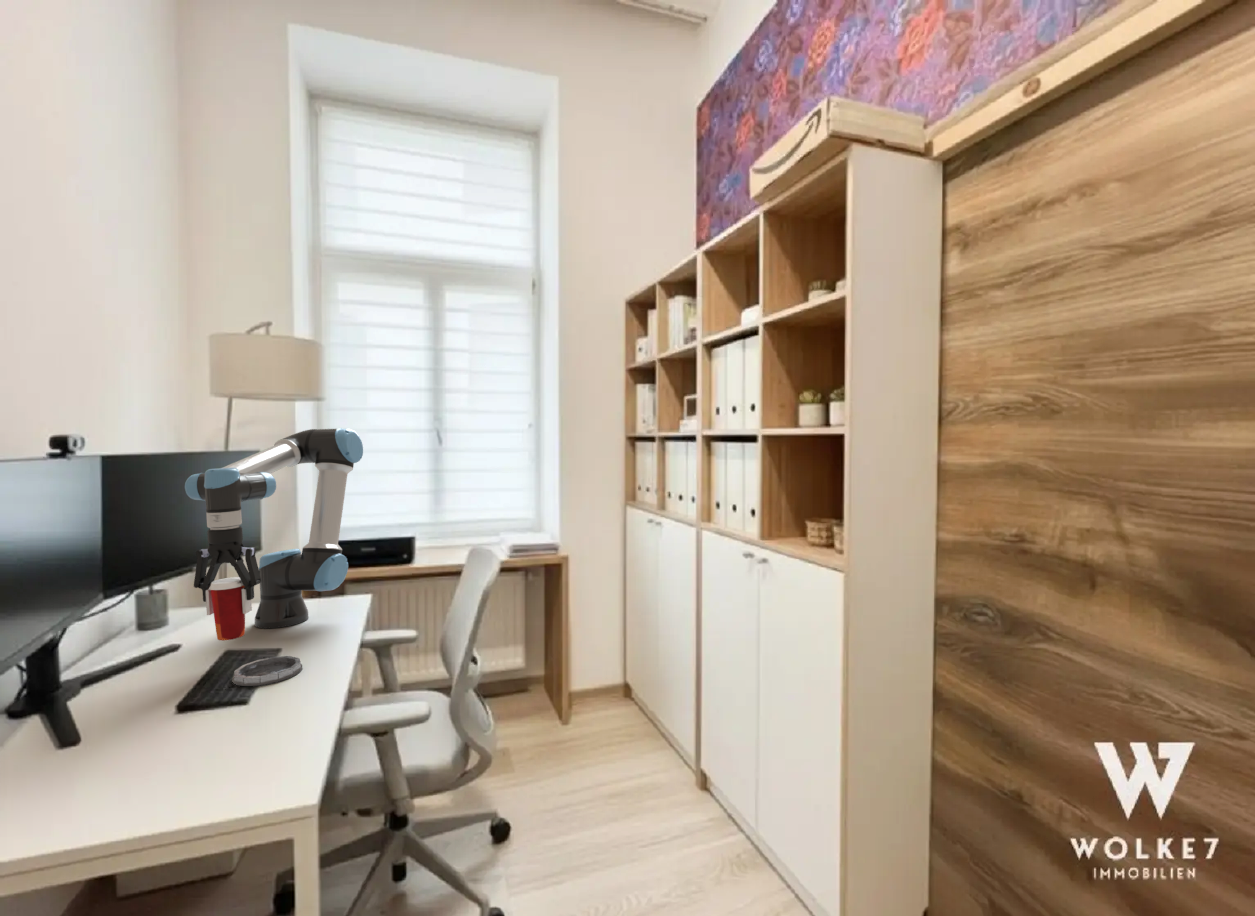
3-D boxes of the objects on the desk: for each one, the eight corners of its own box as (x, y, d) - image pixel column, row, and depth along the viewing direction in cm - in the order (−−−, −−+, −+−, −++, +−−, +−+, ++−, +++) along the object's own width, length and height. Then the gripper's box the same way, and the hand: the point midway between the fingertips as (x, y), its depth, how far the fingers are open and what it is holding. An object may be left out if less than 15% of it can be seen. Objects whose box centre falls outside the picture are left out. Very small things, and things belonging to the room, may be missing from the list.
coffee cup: (257, 631, 156) (254, 576, 155) (233, 642, 148) (230, 584, 147) (228, 630, 157) (225, 576, 156) (203, 641, 149) (199, 584, 148)
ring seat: (254, 664, 152) (254, 656, 152) (313, 661, 153) (313, 654, 153) (217, 688, 137) (217, 680, 137) (283, 685, 138) (283, 677, 138)
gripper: (172, 531, 146) (177, 619, 147) (258, 528, 148) (263, 615, 149) (192, 526, 154) (197, 610, 155) (274, 523, 155) (278, 606, 156)
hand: (229, 612), depth 152 cm, fingers closed on coffee cup, 8 cm apart
